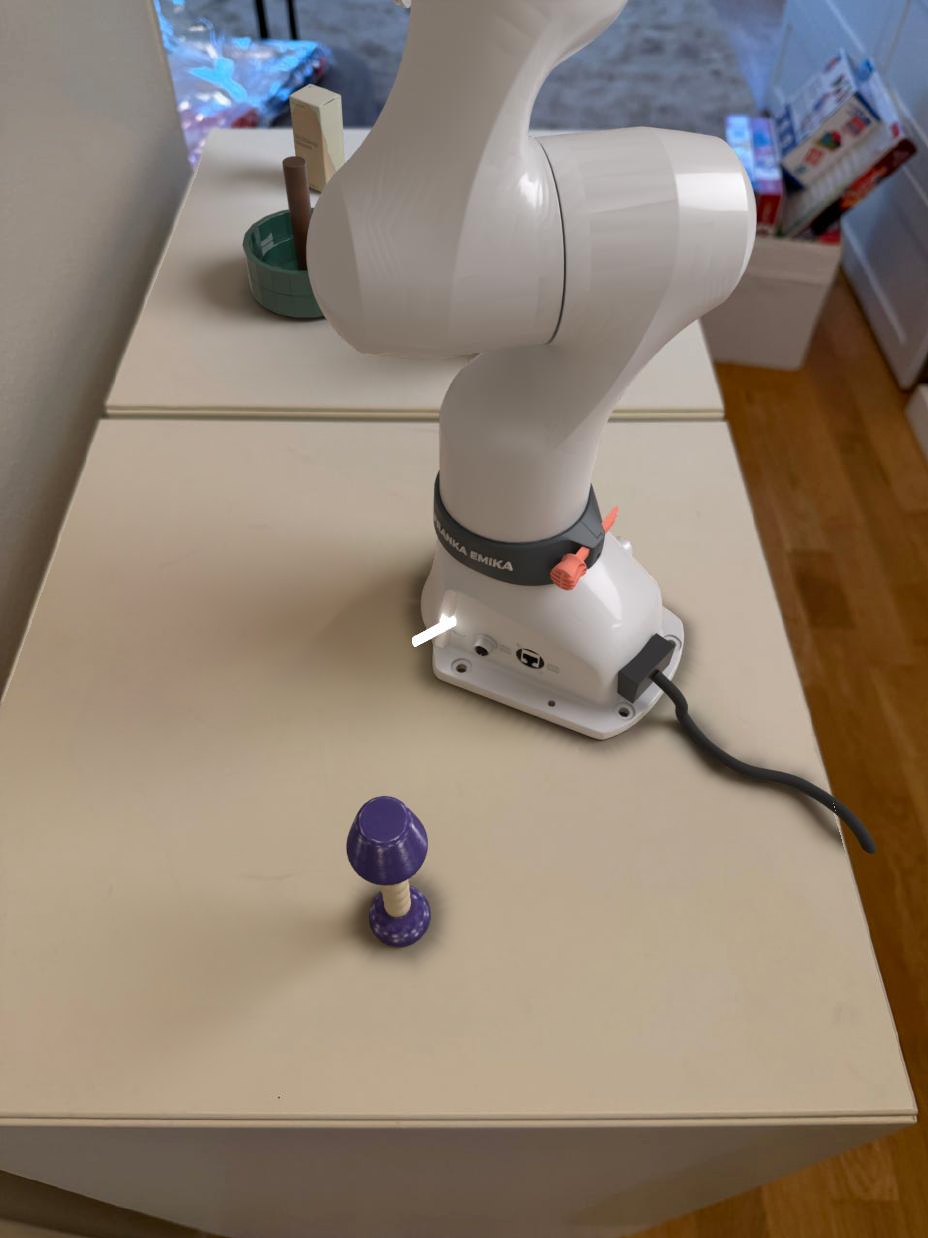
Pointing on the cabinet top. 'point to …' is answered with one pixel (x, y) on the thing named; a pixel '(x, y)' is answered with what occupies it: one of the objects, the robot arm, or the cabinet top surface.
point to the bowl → (277, 268)
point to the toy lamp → (391, 868)
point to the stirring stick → (298, 205)
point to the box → (318, 133)
